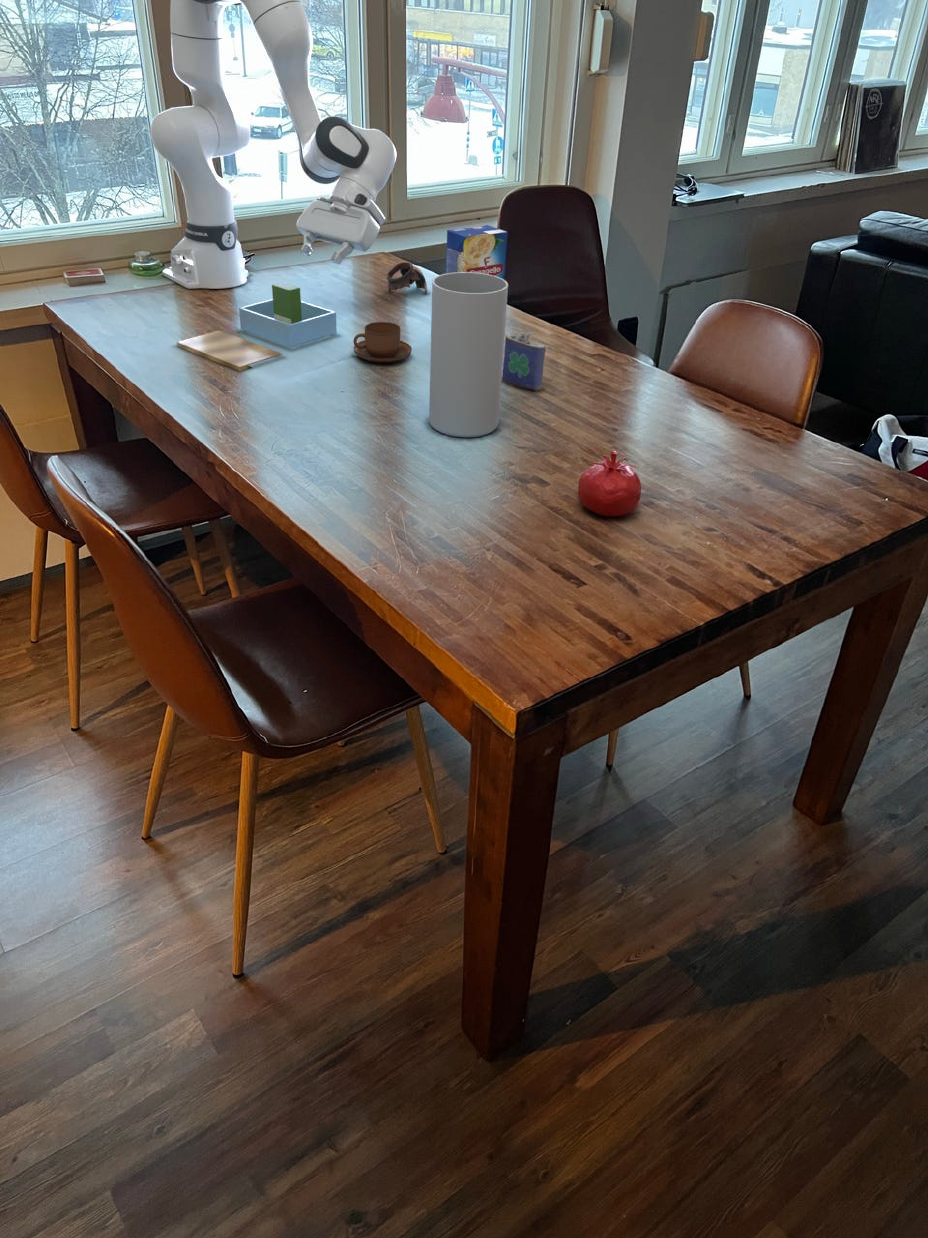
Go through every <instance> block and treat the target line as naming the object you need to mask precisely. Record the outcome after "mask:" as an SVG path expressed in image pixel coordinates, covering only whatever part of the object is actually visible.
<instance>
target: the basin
mask: <svg viewBox="0 0 928 1238" xmlns="http://www.w3.org/2000/svg"><path fill="white" fill-rule="evenodd" d="M238 311H239V313H238V315H239V323H240V330H242V331H245V332H248V333H251V334H254V335H257V336H259V337H262V338H265V339H268V340H271V341H273V342H276V343H279V344H281V345H284V346H287V347H290V348H293V347H296V346H300V345H303V344H306V343H309V342H312V341H316V340H319V339H322V338H326V337H329V336H332V335H335V334H337V333H338V332H337V312H336V311H335V310H331V309H327V308H325V307H321V306H318V305H315V304H313V303H308V302H306V301H303V300H301V313H302V321H300V322H297V323H293V324H288V323H285V322H282V321H279V320H276V319H274V307H273V298H272V299H268V300H264V301H260V302H256V303H252V304H248V305H245V306H241V307H238Z"/></svg>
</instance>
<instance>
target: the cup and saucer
mask: <svg viewBox="0 0 928 1238" xmlns="http://www.w3.org/2000/svg"><path fill="white" fill-rule="evenodd" d="M359 338H364V340H361V341H358V339H359ZM352 341H353V352H354V353H355V354H356V355H357V356H358V357H359V358H361V359H363V360H365V361H369V362H374V363H393V362H398V361H401V360H404V359H406V358H407V357H408V356H410V354H411V353H412V346H411V345H410V344H409V343H407V342H405V341H403V340H401V327H400V325H398V324H396V323H393V322H387V321H377V322H376V321H375V322H371V323H367V324H365V326H364V332H363V333H361V332H360V333H357V334H356V335H355V336H354V337H353V340H352Z"/></svg>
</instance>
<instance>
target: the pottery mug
mask: <svg viewBox="0 0 928 1238" xmlns="http://www.w3.org/2000/svg"><path fill="white" fill-rule="evenodd" d="M398 272H400V274H401V276H399V277H397V278H392V277H394V275H395V274H396V273H398ZM386 280H387V291H388V292H389V293H391V292H392V290H393V291H397V290H400V289H403V288H409V289H410V288H411V285H413V284H414V283H415V286H416V289H417V290H418V289H422V290H424V294H425V295H428V292H429V290H428V283H427V281H426V277H425V275H424V273H423V272H422V270H421V269H420V268H419V267H417V266H415V265H414V264H413V263H412V262H411V261H408V260H407V261H402V262H398V263H397V264H395V265H394V266H391V268H390V269H389V270H388V272H387V277H386Z"/></svg>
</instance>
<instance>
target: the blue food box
mask: <svg viewBox="0 0 928 1238" xmlns="http://www.w3.org/2000/svg"><path fill="white" fill-rule="evenodd" d="M507 243H508V231H506V230H504V229H501V228H498V227H496V226H495V227H494V226H492V225H489V224H486V225H485V224H483V225H477V226H476V225H475V226H468V227H461V228H454V229H446V253H445V254H446V255H445V256H446V257H445V274H447V273H455V272H473V273H483V274H489V275H493V276H496V277H499V278H502V279H504V280H505V273H506V262H507V261H506V260H507V246H508V245H507Z"/></svg>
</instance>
